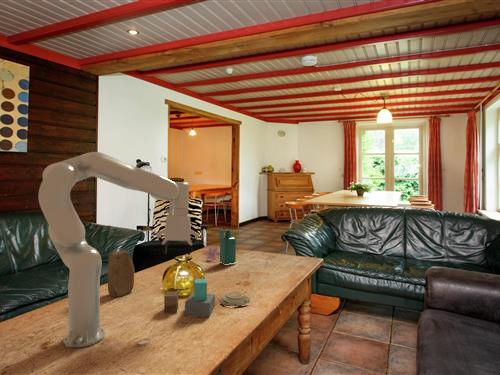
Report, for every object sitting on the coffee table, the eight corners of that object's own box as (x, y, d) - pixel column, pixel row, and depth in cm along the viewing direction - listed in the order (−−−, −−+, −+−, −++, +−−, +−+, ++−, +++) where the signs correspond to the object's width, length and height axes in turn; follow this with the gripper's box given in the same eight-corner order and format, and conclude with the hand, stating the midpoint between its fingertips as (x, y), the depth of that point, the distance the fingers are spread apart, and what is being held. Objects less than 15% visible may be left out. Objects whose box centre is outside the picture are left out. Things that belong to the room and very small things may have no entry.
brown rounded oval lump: (113, 298, 148) (114, 254, 148) (106, 294, 153) (106, 252, 153) (136, 292, 157) (136, 250, 156) (127, 288, 161) (128, 248, 161)
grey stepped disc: (214, 307, 141) (248, 310, 138) (214, 299, 141) (248, 302, 138) (223, 295, 156) (255, 298, 153) (223, 288, 156) (255, 290, 153)
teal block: (206, 299, 134) (206, 282, 133) (194, 300, 133) (194, 283, 133) (206, 295, 139) (206, 278, 138) (194, 295, 138) (194, 279, 138)
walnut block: (176, 312, 134) (176, 295, 134) (164, 313, 134) (164, 296, 134) (178, 308, 139) (178, 291, 139) (166, 308, 139) (166, 291, 139)
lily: (200, 261, 220) (199, 250, 215) (213, 251, 228) (212, 241, 223) (212, 269, 214) (211, 258, 209) (225, 259, 221) (224, 249, 216)
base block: (209, 318, 130) (209, 303, 130) (184, 316, 131) (185, 301, 131) (214, 308, 140) (214, 294, 140) (191, 307, 141) (191, 293, 141)
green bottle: (229, 261, 216) (229, 228, 215) (237, 264, 210) (237, 229, 209) (216, 263, 210) (217, 229, 209) (224, 266, 203) (224, 231, 203)
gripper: (155, 212, 130) (153, 255, 130) (199, 213, 131) (197, 256, 131) (159, 210, 137) (157, 251, 138) (200, 212, 139) (199, 252, 139)
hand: (177, 254), depth 134 cm, fingers open, 9 cm apart
